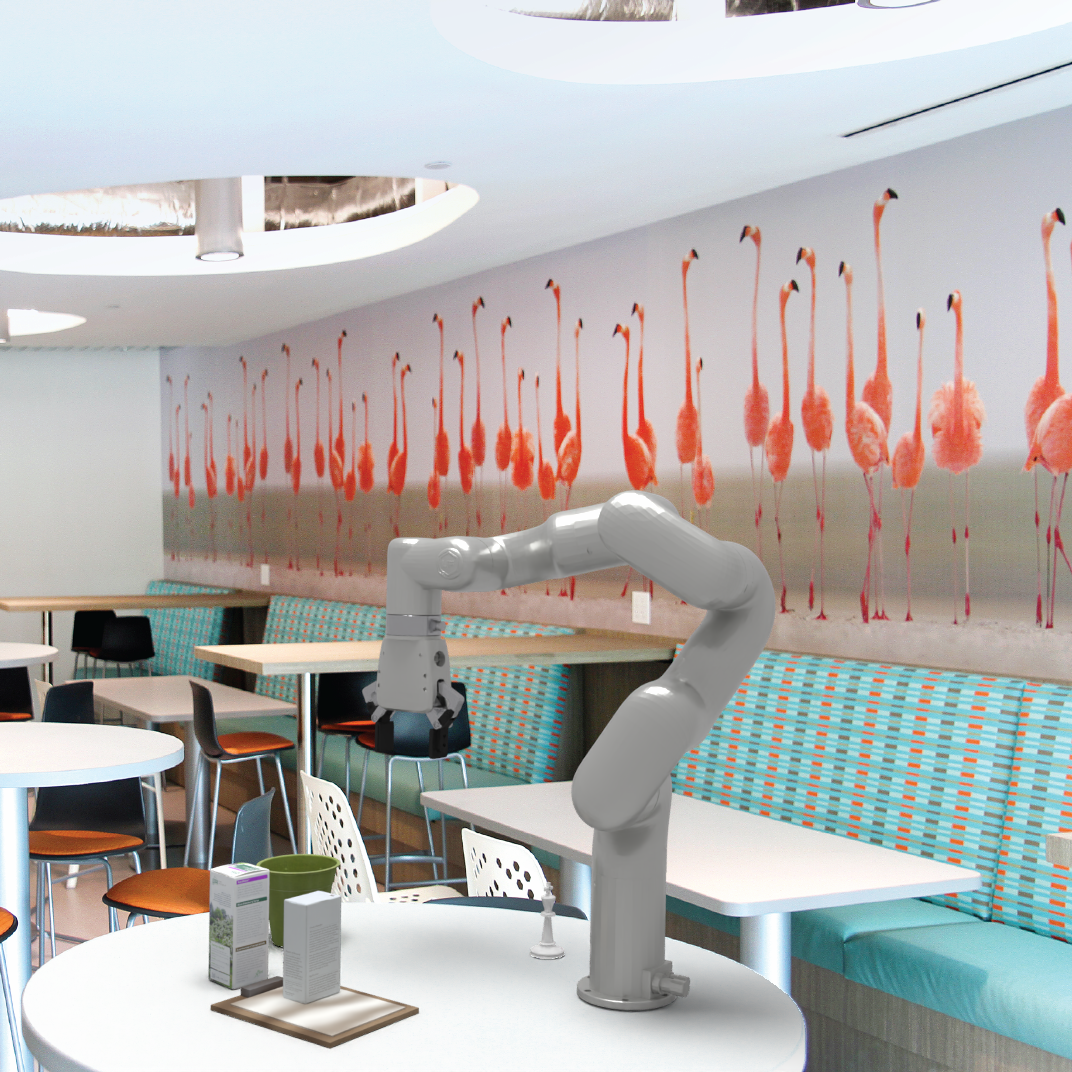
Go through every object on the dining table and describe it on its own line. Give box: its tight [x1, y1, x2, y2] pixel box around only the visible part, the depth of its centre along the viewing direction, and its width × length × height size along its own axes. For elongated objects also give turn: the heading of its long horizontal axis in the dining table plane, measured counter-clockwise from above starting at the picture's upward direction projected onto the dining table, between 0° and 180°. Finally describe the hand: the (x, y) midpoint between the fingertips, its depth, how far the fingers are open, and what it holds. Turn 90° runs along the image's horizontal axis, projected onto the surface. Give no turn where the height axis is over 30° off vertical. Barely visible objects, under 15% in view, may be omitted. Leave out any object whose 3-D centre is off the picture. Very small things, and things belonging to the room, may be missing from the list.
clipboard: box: [210, 975, 420, 1049], centre depth 156 cm, size 20×15×2 cm
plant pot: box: [255, 853, 341, 948], centre depth 185 cm, size 12×12×11 cm
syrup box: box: [207, 862, 270, 990], centre depth 167 cm, size 6×6×14 cm
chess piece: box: [529, 881, 566, 960], centre depth 182 cm, size 5×5×10 cm
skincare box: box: [282, 891, 342, 1004], centre depth 160 cm, size 6×4×12 cm
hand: (410, 754), depth 176 cm, fingers open, 9 cm apart
